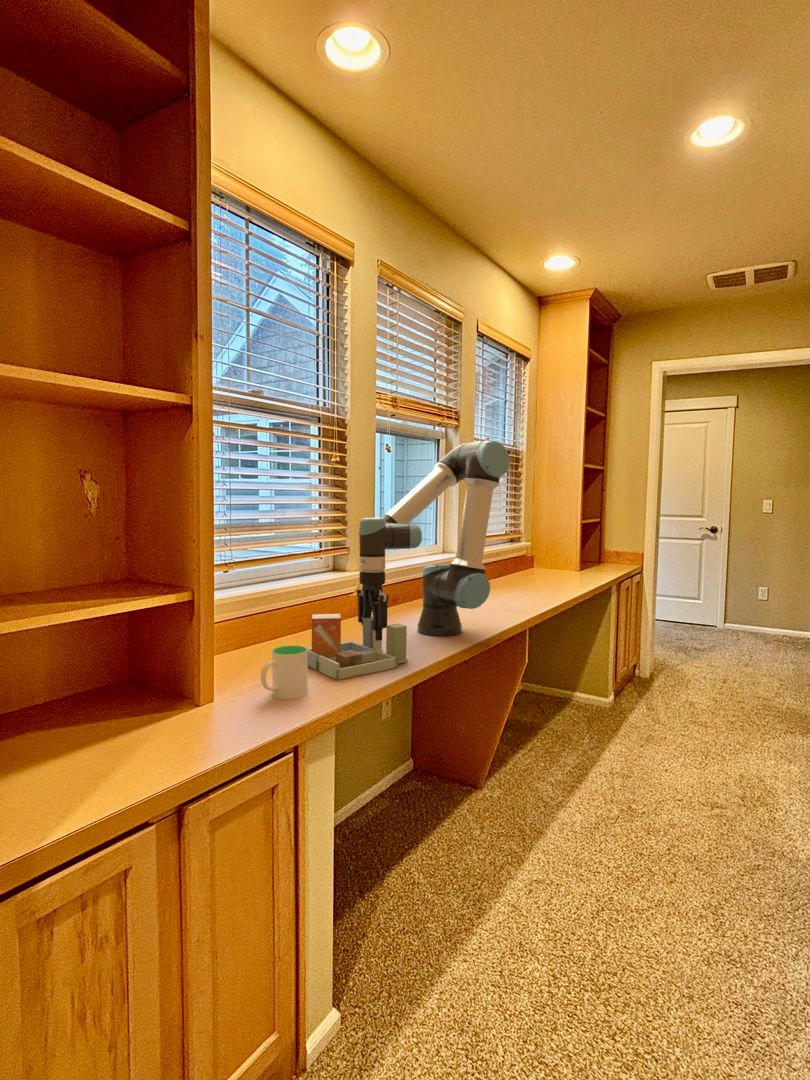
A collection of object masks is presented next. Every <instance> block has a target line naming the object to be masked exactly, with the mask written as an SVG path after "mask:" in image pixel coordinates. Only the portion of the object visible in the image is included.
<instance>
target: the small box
mask: <svg viewBox="0 0 810 1080" xmlns="http://www.w3.org/2000/svg"><path fill="white" fill-rule="evenodd" d="M341 643H342V616H341V613H321V614H319V613H318V614H315V613H314V614H311V648H312V652H315V653H317V654H319V655H322V656H324V657H326V658H330V657H336V653H339V652H341Z"/></svg>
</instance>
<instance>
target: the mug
mask: <svg viewBox="0 0 810 1080" xmlns="http://www.w3.org/2000/svg"><path fill="white" fill-rule="evenodd" d="M307 649H308V648H307V647H306V646H302V645H299V646H295V645H284V646H283V645H282V646H278V647H274V648H272V649H271V650H272V651H271V655H272V656H271V658H272V659H271V660H268V661H267V662H265V663H264V665H263V666H262V668H261V671H260V682H261V685H262V687H263V688H264V689H265V690H267V691H271V692H272V697H274V698H277V699H280V700H294V699H295V700H296V699H299V698H303V697H305V696H306V695H307V694H308V692H309V691H308V688H309V687H308V678H309V677H308V665H307ZM270 667H272V668H271V669H272V673H271V674H272V675H271V676H272V685H271V686H269V685H268V683H267V674H268V670H269V668H270Z"/></svg>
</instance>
